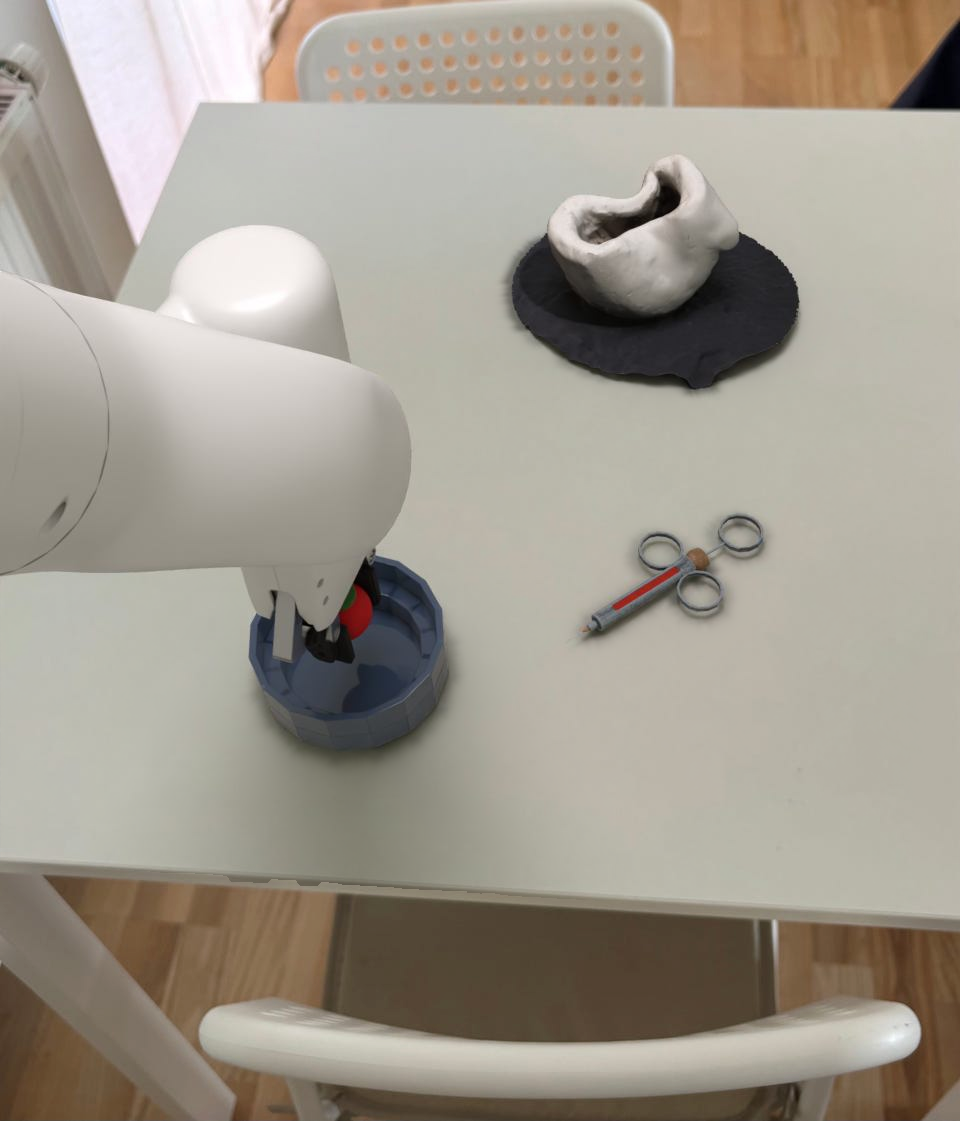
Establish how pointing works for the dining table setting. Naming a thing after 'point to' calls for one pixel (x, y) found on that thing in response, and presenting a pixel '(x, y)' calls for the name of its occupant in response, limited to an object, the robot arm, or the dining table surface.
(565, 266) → the sculpture
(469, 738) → the dining table surface
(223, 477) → the robot arm
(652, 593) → the syringe
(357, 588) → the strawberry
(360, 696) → the bowl
